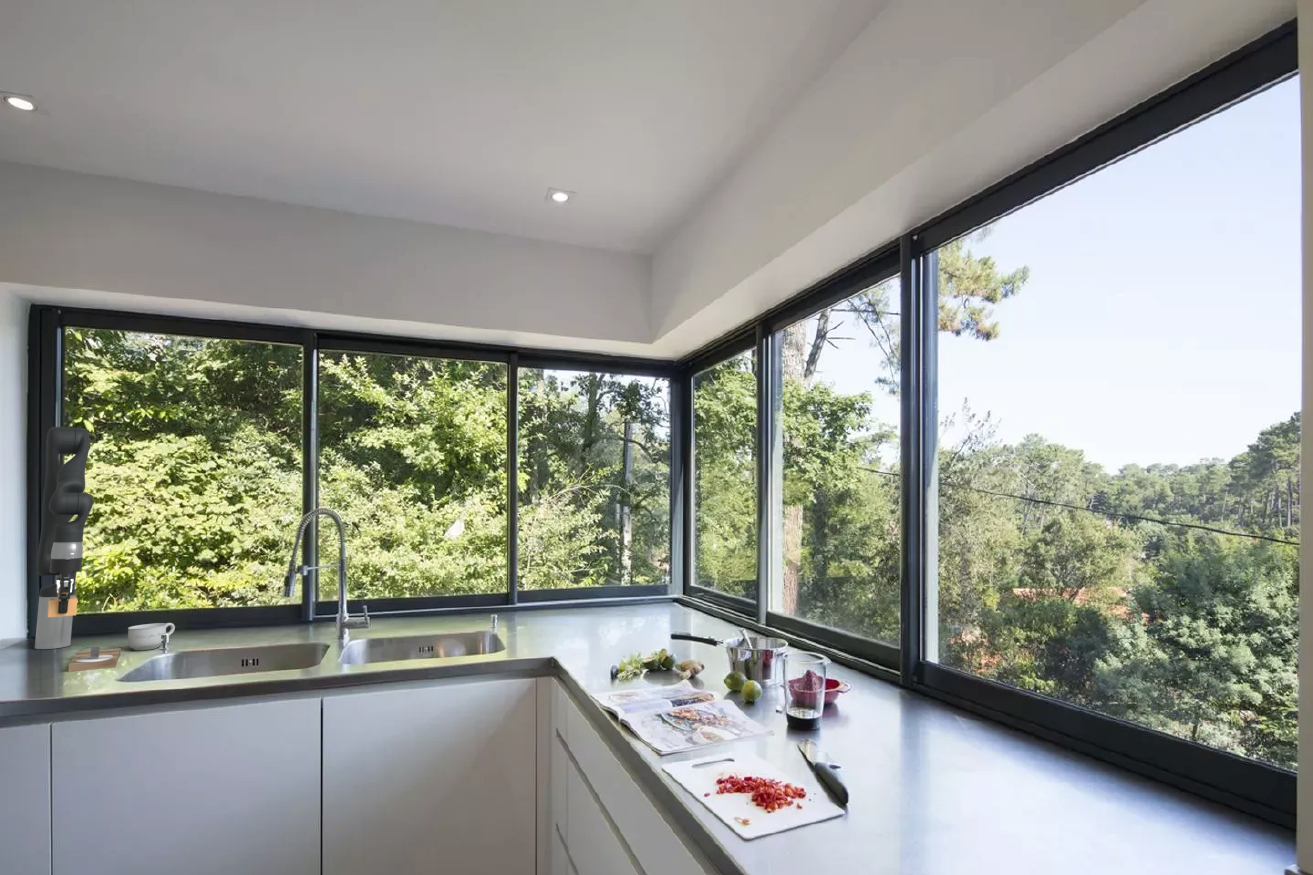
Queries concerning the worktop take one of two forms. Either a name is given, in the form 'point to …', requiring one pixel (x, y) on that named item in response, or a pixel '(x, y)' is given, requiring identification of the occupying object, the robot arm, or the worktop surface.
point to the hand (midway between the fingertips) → (62, 611)
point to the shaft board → (95, 659)
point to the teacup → (147, 635)
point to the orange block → (54, 605)
